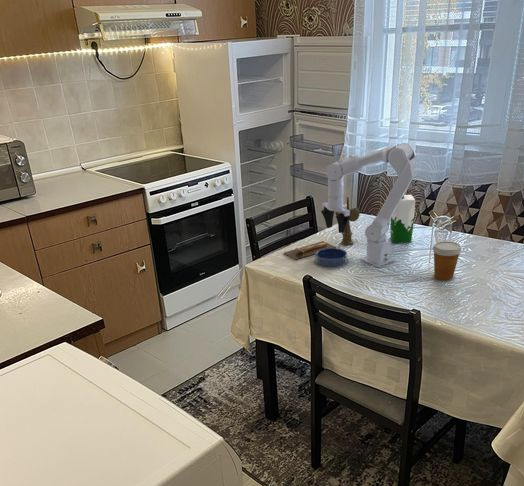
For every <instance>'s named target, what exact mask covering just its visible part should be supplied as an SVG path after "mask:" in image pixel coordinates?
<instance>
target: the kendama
mask: <svg viewBox="0 0 524 486" xmlns="http://www.w3.org/2000/svg"><path fill="white" fill-rule="evenodd" d="M343 205H345V208H346V209H347V210H350V218H349V219H348V221H347V224H346V227H345V230H344V232H342V233H341V235H342V239H341V241H340V244H341V245H342V246H350V245H351V246H352V245H353V244H354V241H353V239H352V235H353V234H354V233H353V232H352V230H351V223H352V222H353V223H354V222H356V221H358V219H359V218H360V216H361V215H360V214H361V212H360V209H359V207H352V208H350V197H349V196H347V197H346V202H343ZM334 214H335V215H336V216H337V215H340V213H337V212H334ZM336 216H335V217H336ZM350 222H351V223H350Z"/></svg>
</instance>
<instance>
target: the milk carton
mask: <svg viewBox="0 0 524 486" xmlns="http://www.w3.org/2000/svg"><path fill="white" fill-rule="evenodd" d="M415 211H416V199H415V197H414V196H413V194H404V195H403V197H402V199H401V201H400V203H399V204H398V206H397V208H396V210H395V211H394V213H393V215H392V217H391V221H390V224H389V231H390V239H391V241H392V243H393V244H404V243H412V238H413V232H414V222H415Z"/></svg>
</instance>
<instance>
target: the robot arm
mask: <svg viewBox="0 0 524 486" xmlns="http://www.w3.org/2000/svg"><path fill="white" fill-rule="evenodd" d="M416 156H417V155H416V152H415V149H414V147H413V146H412V144H410V143H409V142H402V143H400V144H394V145H391V146H387V147H383V148H381V149H379V150H376V151H374V152H371V153H369V154H366V155H363V156H360V155H358V154H356V155H355V154H351V155H349V156H348V157H347V158H344V159H338V160H337V161H335V162H333V163H331V164H329V165H328V166H327V167H326V169H325V176H326V177H327V179H328V183H327V192H328V193H327V201H328V202H327V201H325V202H322V203H321V208H322V210H321V211H320V212H321V215H322V216H323V219H324V221H325V226H326V228H327V229H330V228H333V223H334V215H335V212H337V213H340V215H337V216H335V218H336V221H337V228H338V229H337V230H338V233H339V234H342V232H344V230H345V227H346V224H347V221H348V219H349V218H350V210H347V209H346V208H345V205H343V203H344V179H345V178H344V177H346V176H349V175H352V174H356V173H358V172H361V171H362V170H363V167H365V166H368V165H371V164H374V163H378V162H384V163H385V164H388V163H389V165H390V166H391V167H392V169H393V170H394V171H395V172H396V175H397V178H396V180H395V182H394V183H393V186H392V187H391V188H390V189H391V190H390V191H389V193H388V194H387V197H386V199H385V201H384V202H383V204H382V206H381V208H380V210H379V211H378V213H377V215H376V216H375V217H374V219H373V221H372V222H371V224H369V225H368V226H366V228H365V230H364V235H365V238H366V253H365V257H362V258H361V261H364V262H367V263H369V264H371V265H373V266H375V267H380V266H383V265H386V264H389V263H393V259H392V253H393V245H392V244H391V243H390V242H389V241H388V239H387V235H386V233H387V232H388V231H389V230H390V224H391V217H392V215H393V213H394V211H395V210H396V208H397V206H398V204H399V203H400V201H401V199H402V197H403V195H406V192H407V190H408V188H409V187H410V185H411V183H412V181H413V180H414V178H415V176H416V175H415V174H416V171H415V170H416V167H415V166H416V165H415V164H416V163H415V162H416V161H415V160H416Z"/></svg>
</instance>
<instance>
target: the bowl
mask: <svg viewBox="0 0 524 486" xmlns="http://www.w3.org/2000/svg"><path fill="white" fill-rule="evenodd" d="M314 256H315V257H314V258H315V259H314V260H315V264H317V265H318V266H320V267H324V268H337V267H341V266H344V265H345V264H347V262H348V252H347V251H346V250H345V249H342V248H339V247H336V248H326V249H321V250H319V251H317V252H316V253H315V255H314Z"/></svg>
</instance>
